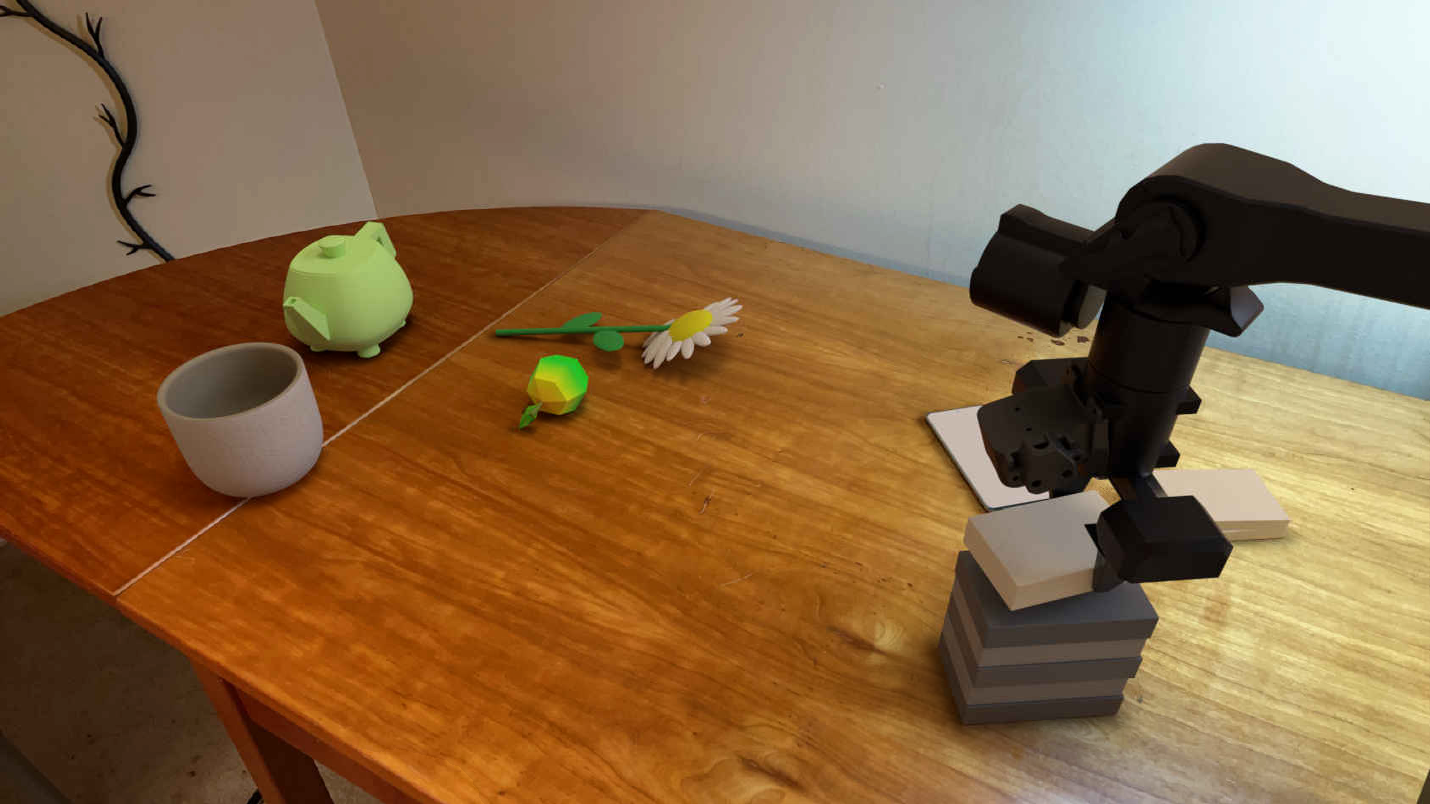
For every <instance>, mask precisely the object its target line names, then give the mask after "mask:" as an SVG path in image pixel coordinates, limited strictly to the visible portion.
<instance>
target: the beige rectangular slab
mask: <svg viewBox="0 0 1430 804" xmlns="http://www.w3.org/2000/svg"><path fill="white" fill-rule="evenodd" d="M1153 475H1154V476H1155V478H1156V479H1157V481H1158V482H1159V483H1160V485H1161V486H1162V488H1163V489H1164V491H1165V492H1166V493H1167V495H1168V496H1169V497H1172V496H1187V495H1193V496H1194V497H1195V498H1196V499H1197V500H1198V501H1199V502H1200V503H1201V504H1202V505H1203V506H1204V507H1205V509H1206V510H1207V511H1208V513H1209V514H1210V516H1211V517H1212V518H1213V520H1214V521H1215V522H1216V524H1217V525H1218V526H1219V528H1220V529H1221V530H1222V532H1223V533H1224V535H1225V536H1226V537H1227V539H1228V540H1229V541H1230V542H1231V541H1248V540H1266V539H1267V540H1268V539H1283V538H1284V537H1285V536H1286V534H1287V532H1288V530H1289V527H1288V526H1289V525H1290V523H1291V521H1292V519H1291V518H1290V516H1289V515H1288V514H1287V512H1286V511H1285V509H1284V507H1282V506H1281V504H1280V503H1279V502H1278V500H1277V499H1276V497H1275V496H1274V494H1273V493H1272V492H1271V491H1270V489H1269V488H1268V487H1267V484H1265V482H1264V481H1263V480H1262V478H1261V477H1260V475H1259V474H1258V473H1257V472H1256V470H1255V469H1254V468H1211V469H1210V468H1207V469H1204V468H1203V469H1154V471H1153Z"/></svg>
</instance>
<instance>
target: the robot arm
mask: <svg viewBox="0 0 1430 804" xmlns="http://www.w3.org/2000/svg"><path fill="white" fill-rule="evenodd" d="M1272 284H1292V285H1293V284H1296V285H1307V286H1308V285H1309V286H1315V287H1318V288H1323V289H1328V290H1332V291H1333V290H1334V291H1337V292H1341V293H1347V294H1352V295H1357V296H1361V297H1365V298H1370V299H1374V300H1380V301H1385V302H1390V303H1394V304H1400V305H1404V306H1407V307H1413V308H1418V309H1422V310H1426V311H1430V202H1425V201H1424V202H1423V201H1418V200H1411V199H1405V198H1397V197H1391V196H1385V195H1377V194H1372V193H1365V192H1358V191H1353V190H1349V189H1346V188H1343V187H1339V186H1336V185H1333V184H1330V183H1327V182H1325V181H1323V180H1321V179H1319V178H1317V177H1315V176H1314V175H1312V174H1310V173H1309V172H1307V171H1305V170H1304V169H1301V167H1298V166H1296V165H1294V164H1293V163H1291V162H1288V161H1286V160H1283V159H1279V158H1277V157H1276V158H1275V157H1272V156H1270V155H1266V154H1262V153H1259V152H1256V151H1253V150H1249V149H1247V148H1244V147H1240V146H1237V145H1233V144H1228V143H1224V142H1204V143H1200V144H1196V145H1193V146H1191V147H1189V148H1187V149H1185V150H1183V151H1182V152H1181V153H1179V154H1177V155H1175V156H1174V157H1173V158H1172V159H1170V160H1169V161H1167V162H1166V163H1165V164H1163V165H1161V166H1160V167H1159V168H1157V169H1156V170H1154V171H1152V172H1151V173H1150V174H1149V175H1147V176H1145V177H1144V178H1142V179H1141V180H1140V181H1139V182H1137V183H1135V184H1134V185H1132V186H1131V187H1130V188H1128V190H1127V192H1125V194H1124V195H1123V196H1122V198H1121V199H1120V201H1119V202H1118V205H1117V207H1116V210H1115V215H1114V217H1112V218H1111V219H1109V220H1108V221H1107V222H1105V223H1104V224H1102V225H1101V226H1100V227H1098V228H1097V229H1096V230H1092V229H1089V228H1086V227H1083V226H1080V225H1078V224H1074V223H1070V222H1067V221H1065V220H1062V219H1058V218H1055V217H1052V216H1050V215H1047V214H1045V213H1044V212H1042V211H1041V210H1039V209H1037V208H1035V207H1032V206H1029V205H1026V204H1023V203H1017V204H1016V205H1014V206H1013V207H1011V208H1010V209H1008V210H1007V211H1005V212H1002V214H1000V215H999V222H998V226H997V230H996V231H995V233H993V235H992V237H991V238H990V240H989V241H988V242H987V244H986V246H985V247H984V250H983V251H982V254H981V255H980V258H979V260H978V262H977V266H975V267H974V268H973V269H972V271H971V274H970V279H969V289H968V291H969V293H968V294H969V299H970V301H971V303H972V304H973V305H974V306H976V307H978V308H981V309H983V310H986V311H988V312H989V313H993V314H995V315H998V316H1000V317H1003V318H1004V319H1007V320H1009V321H1012V322H1015V323H1017V324H1020V325H1022V326H1025V327H1027V328H1030V329H1032V330H1034V331H1037V332H1040V333H1042V334H1044V335H1047V336H1049V337H1051V338H1054V339H1060V338H1063V337H1065V336H1066V335H1067V334H1068V333H1069V332H1070V331H1071V330H1072V329H1073V328H1075V329H1078V330H1080V331H1081V330H1084V329H1086V328H1088V327H1089V326H1090V324H1092V322H1093V321H1094V320H1095V318H1096V317H1097V315H1098V314H1099V318H1098V320H1097V325H1096V327H1095V332H1094V334H1093V337H1092V342H1091V345H1090V349H1089V352H1088V355H1087V356H1077V357H1074V356H1073V357H1058V358H1057V357H1056V358H1039V359H1030V360H1029V361H1028V362H1027V363H1025V364H1023V365H1022V366H1021V367H1019V368H1018V369H1017V370H1016V371H1015V374H1014V378H1013V382H1012V387H1011V391H1010V392H1011V395H1008V396H1004V397H1002V398H999V399H996V400H992V401H990V402H987V403H985V404H982V405H983V406H982V407H980V408H979V410H978V411H977V419H978V423H979V427H980V431H981V435H982V439H983V443H984V447H985V451H986V453H987V455H988V456H989V458H990V460H991V462H992V464H993V466H994V468H995V470H996V473H997V475H998V478H999V480H1000V481H1001V483H1002V484H1003V485H1005V486H1006V487H1009V488H1020V487H1023V486H1025V487H1026V489H1027V490H1028V492H1029V493H1032V494H1035V495H1038V494H1042V493H1045V492H1048V491H1049V499H1054V498H1058V497H1063V496H1068V495H1072V494H1077V493H1081V492H1085V490H1086V488H1087V487H1088V485H1089V483H1090V482H1091V480H1093V479H1095V480H1097V481H1106V480H1108V481H1109V483H1110V485H1111V486H1112V487H1113V489H1114V491H1115V492H1116V494H1117V496H1118V498H1119V500H1117V501H1116V502H1114V503H1112V504H1111V505H1109V507H1108V508H1106V509H1105V510H1103V511H1102V512H1100V515H1099V518H1098V521H1097V523H1092V524H1084V527H1085V528H1086V530H1087V532H1088V534H1089V535H1090V537H1091V539H1092V541H1093V542H1094V544H1095V546H1096V548H1097V549H1098V551H1097V556H1096V561H1095V566H1094V571H1093V580H1092V590H1093V592H1094V593H1102V592H1109V591H1111V590H1112V589H1114V588H1116V587H1117V586H1119V585H1120V584H1122V583H1123V582H1125V581H1126V582H1128V583H1130V584H1137V583H1140V584H1149V583H1150V584H1151V583H1164V582H1165V583H1166V582H1177V581H1190V580H1192V581H1193V580H1206V579H1219V578H1220V576H1221V574H1222V572H1223V570H1224V568H1225V566H1226V564H1227V562H1228V560H1229V558H1230V557H1231V554H1232V551H1233V549H1234V546H1233V544H1232V543H1231V541H1229V540H1228V539H1227V537H1226V536H1225V535H1224V533H1223V532H1222V530H1221V529H1220V528H1219V526H1218V525H1217V524H1216V522H1215V521H1214V520H1213V518H1212V517H1211V516H1210V514H1209V513H1208V511H1207V510H1206V509H1205V507H1204V506H1203V505H1202V504H1201V503H1200V502H1199V501H1198V500H1197V499H1196V498H1195V497H1194V496H1193V495H1187V496H1172V497H1169V496H1168V495H1167V493H1166V492H1165V491H1164V489H1163V488H1162V486H1161V485H1160V483H1159V482H1158V481H1157V479H1156V478H1155V476H1154V475H1153V471H1154V470H1156V469H1169V468H1176V467H1177V465H1178V463H1179V460H1180V458H1181V453H1180V452H1179V450H1178V449H1177V448H1176V446H1175V445H1174V444H1173V442H1172V441H1171V436H1172V433H1173V430H1174V428H1175V426H1176V422H1177V420H1178V417H1179V416H1184V415H1197V414H1198V412H1199V409H1200V407H1201V404H1202V402H1203V399H1202V398H1201V397H1200V396H1199V395H1198V393H1197V392H1196V391H1195V389H1194V388H1193V387H1192V386H1191V384H1192V381H1193V378H1194V375H1195V372H1196V370H1197V367H1198V365H1199V362H1200V359H1201V356H1202V354H1203V351H1204V349H1205V346H1206V343H1207V341H1208V339H1209V336H1210V333H1211V331H1213V332H1216V333H1218V334H1222V335H1224V336H1227V337H1230V338H1238V337H1241V335H1242V334H1243V333H1244V332H1245V331H1246V330H1247V329H1248V328H1249V327H1250V325H1252V324H1253V323H1254V321H1255V320H1256V319H1257V318H1258V317H1259V316H1261V314H1262V313H1263V312H1264V310H1265V306H1264V303H1263V302H1262V301H1261V299H1260V298H1259V296H1258V295H1257V294H1256V293H1255V292H1254V291H1253V290H1252V289H1251V288H1250V287H1252V286H1262V285H1263V286H1264V285H1272ZM1099 312H1100V313H1099ZM1416 804H1430V768H1429V769H1428V772H1427V774H1426V777H1425V780H1424V783H1423V785H1422V788H1421V791H1420V792H1419V796H1418V798H1417V801H1416Z"/></svg>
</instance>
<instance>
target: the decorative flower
mask: <svg viewBox="0 0 1430 804" xmlns="http://www.w3.org/2000/svg"><path fill="white" fill-rule="evenodd" d="M738 301H739V299H733V300H732V297H727V298H725V299H722V300H721V301H720V302H719V301H715V302H712V303H711V304H709V305H707V306H705V307H704V308H703V309H696V310H692V311H689V312H686V313H684V314H682V315H680V316H679V317H677V318H676V319H674V318H673V319H670V320H669V321H667V322H665V323H663V324H656V325H655V324H653V325H650V324H649V325H616V326H611V325H610V326H593V325H594V324H596V323H598V322H599V321H600V319H601V318H602V312H596V311H592V312H587V313H582V314H580V315H578V316H575V317H574V318H571V319H570V320H568V321H566V322H564V323H563V325H562V326H561V327H537V328H534V327H533V328H501V329H500V328H497V329H496V330H495V335H496V336H497V337H503V336H505V337H507V336H543V335H545V336H546V335H549V336H550V335H590V334H591V335H592V334H593V337H592V342H593V345H594V346H595V347H597V348H598V349H599V350H601V351H605V352H608V353H609V352H616V351H619V350H620V349H621V348H623V347H624V343H625V340H624V337H623V335H622V334H627V333H628V334H631V333H632V334H633V333H635V334H636V333H651V335H650V336H649V337H647V339H646V340H645V341H644V342H643V345H642V348H645V350H644V352H642V354H641V357H640V358H641V359H643V358H644V365H646V364H647V365H648V364H649V363H651V362H652V361H653V364H652V367H653V369H654V370H655V369H658V368H659V367H660V366H661V364H662V363H664V361H665V359H666V362H669V361H671V360H673V358H675V357H676V356H677V354H678V353H679V352H680V351H681V355H682V357H683V359H684V360H685V359H686V360H688V359H689V358H691V357H692V354H694V353H693V352H694V350H695V345H697V346H699V347H707V346H709V345H711V343H712V342H711V339H710V337H714V336H721V335H723V334H726V333H727V332H728V330H729V329H728V328H726V327H725V326H729V325H732V324H734V323H736V322H738V321H739V319H740V318H739V317H738V316H733V315H734V314H736V313H738V312H739V311H741V310H742V308H743V305H741V304H737V302H738Z"/></svg>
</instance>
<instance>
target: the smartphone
mask: <svg viewBox="0 0 1430 804" xmlns="http://www.w3.org/2000/svg"><path fill="white" fill-rule="evenodd" d="M983 405H984V404H977V405H971V406H964V407H957V408H951V409H945V410H938V411H931V412H928V413H926V415H925V419H926V421H927V423H928V424H929V427H931V429H932V431H933V432H934V433H935V435H936V436H937V439H939V441H940V442H941V444H942V445H943V447H944V448H945V450H946V451H947V453H948V454H949V456H950V457H951V459H952V460H953V462H954V464H955V465H956V466H957V468H958V469H959V471H960V472H961V474H962V475H963V477H964V478H965V479H966V481H967V483H968V484H969V486H970V487H971V489H972V491H973V492H974V493H975V495H976V496H977V498H978V499H979V501H980V502H981V504H982V505H983V507H984V508H985V510H986V511H988V513H990V512H995V511H1000V510H1004V509H1009V508H1013V507H1018V506H1022V505H1027V504H1031V503H1036V502H1040V501H1045V500H1049V491H1048V492H1045V493H1042V494H1038V495H1035V494H1032V493H1029V492H1028V490H1027V489H1026V487H1025V486H1023V487H1020V488H1009V487H1006V486H1005V485H1003V484H1002V483H1001V481H1000V480H999V478H998V475H997V473H996V470H995V468H994V466H993V464H992V462H991V460H990V458H989V456H988V455H987V453H986V451H985V447H984V443H983V439H982V435H981V431H980V427H979V423H978V419H977V411H978V410H979V408H980V407H982V406H983Z"/></svg>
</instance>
